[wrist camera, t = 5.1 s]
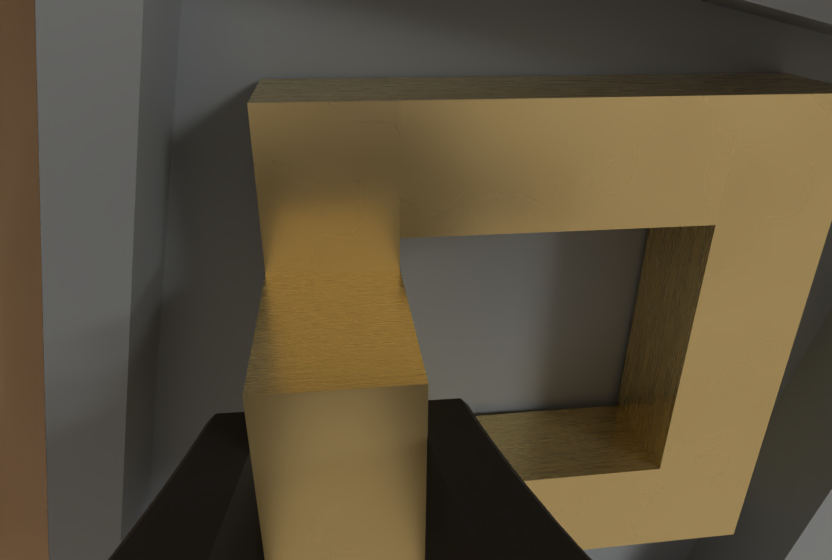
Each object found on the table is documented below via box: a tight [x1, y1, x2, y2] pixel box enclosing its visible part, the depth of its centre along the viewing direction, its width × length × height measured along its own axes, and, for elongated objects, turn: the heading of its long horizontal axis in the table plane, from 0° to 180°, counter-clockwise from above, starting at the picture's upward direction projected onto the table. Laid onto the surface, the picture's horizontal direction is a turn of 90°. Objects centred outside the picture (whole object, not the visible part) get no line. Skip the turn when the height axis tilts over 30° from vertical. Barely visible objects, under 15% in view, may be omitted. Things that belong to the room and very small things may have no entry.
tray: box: [35, 0, 832, 560], centre depth 13 cm, size 16×16×3 cm
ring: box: [243, 73, 832, 560], centre depth 10 cm, size 9×9×5 cm
